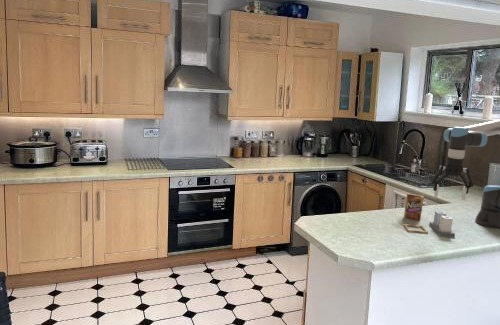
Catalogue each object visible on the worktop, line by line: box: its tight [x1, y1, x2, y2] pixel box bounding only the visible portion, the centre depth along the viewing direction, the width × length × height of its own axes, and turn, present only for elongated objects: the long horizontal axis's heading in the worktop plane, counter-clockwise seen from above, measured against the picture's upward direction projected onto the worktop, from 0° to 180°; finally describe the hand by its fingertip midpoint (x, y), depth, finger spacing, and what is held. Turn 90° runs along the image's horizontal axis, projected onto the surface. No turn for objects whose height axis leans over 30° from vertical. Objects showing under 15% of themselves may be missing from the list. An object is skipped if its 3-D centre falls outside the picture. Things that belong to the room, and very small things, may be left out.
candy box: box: [403, 192, 425, 222], centre depth 240 cm, size 9×4×15 cm, turn 60°
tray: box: [402, 223, 429, 235], centre depth 221 cm, size 10×10×2 cm
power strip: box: [428, 221, 456, 238], centre depth 225 cm, size 25×7×4 cm, turn 174°
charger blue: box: [432, 210, 448, 226], centre depth 225 cm, size 4×4×9 cm
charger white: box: [439, 215, 454, 232], centre depth 216 cm, size 4×4×9 cm
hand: (449, 198), depth 214 cm, fingers open, 13 cm apart
